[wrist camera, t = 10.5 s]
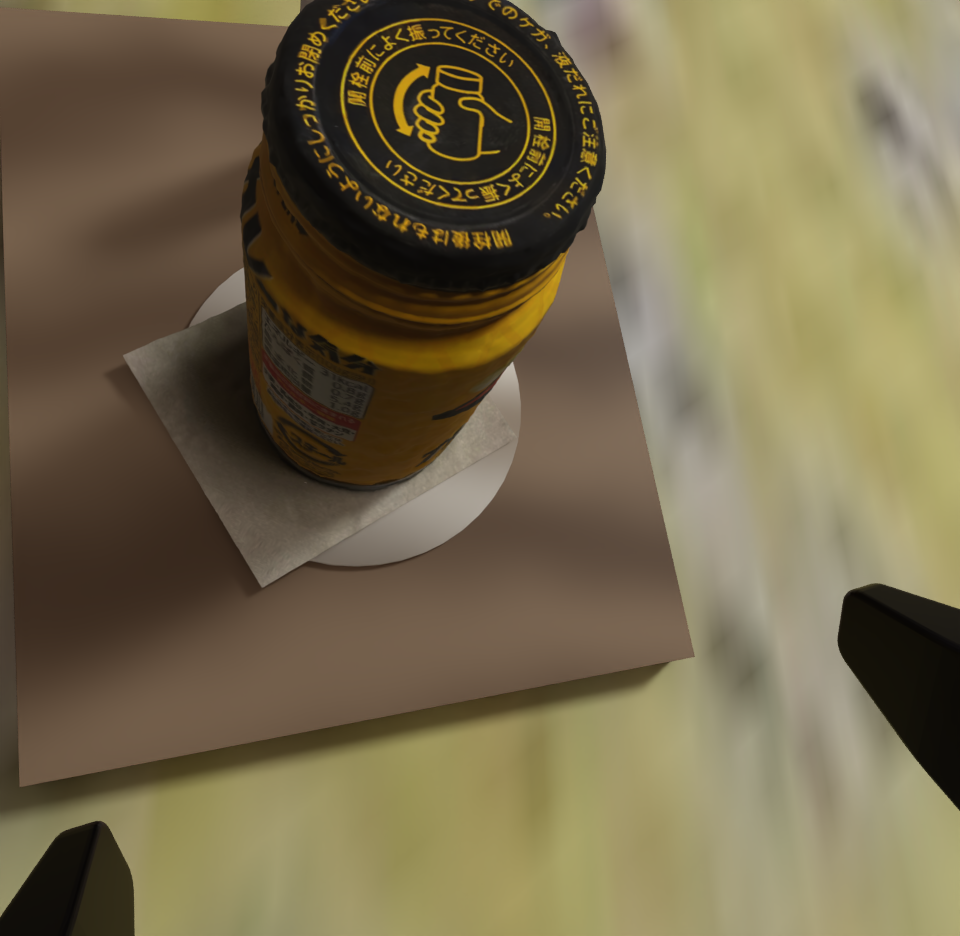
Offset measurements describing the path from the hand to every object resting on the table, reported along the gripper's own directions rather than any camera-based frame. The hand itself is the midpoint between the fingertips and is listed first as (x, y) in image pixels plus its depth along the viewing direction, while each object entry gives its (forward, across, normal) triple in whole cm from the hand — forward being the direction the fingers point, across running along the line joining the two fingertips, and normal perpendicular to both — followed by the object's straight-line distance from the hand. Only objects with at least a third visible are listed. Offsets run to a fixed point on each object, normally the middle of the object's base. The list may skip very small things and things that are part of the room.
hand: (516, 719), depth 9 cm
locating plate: (+17, 0, +1) cm, 17 cm away
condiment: (+15, +1, +2) cm, 15 cm away
